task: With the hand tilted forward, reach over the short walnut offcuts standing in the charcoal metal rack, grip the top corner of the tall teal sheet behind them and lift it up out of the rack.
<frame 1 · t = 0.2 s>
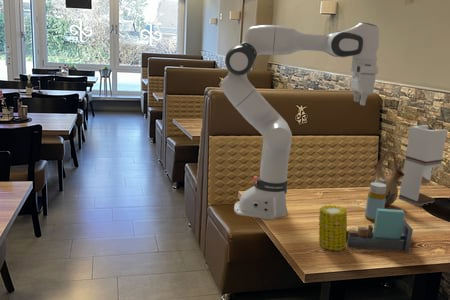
hand: (359, 103, 168), 48 cm above the table, tool pointing down, fingers open, 8 cm apart
food: (330, 246, 154), on the table
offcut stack: (359, 244, 156), resting in rack
ceramic vessel: (382, 204, 197), on the table
tea bag: (395, 236, 165), on the table
white model tower: (416, 200, 204), on the table
bottle: (373, 218, 180), on the table
rack: (375, 245, 155), on the table
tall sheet: (384, 246, 155), resting in rack
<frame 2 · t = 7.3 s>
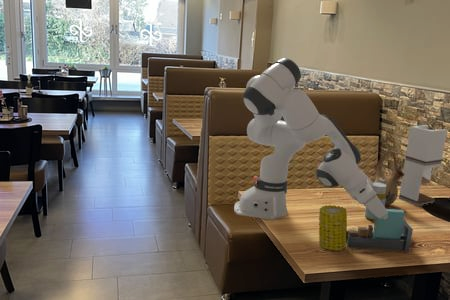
hand: (384, 215, 152), 12 cm above the table, tool tilted 45°, fingers closed on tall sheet, 2 cm apart
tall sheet: (385, 246, 155), resting in rack, touching gripper
everything else where it was.
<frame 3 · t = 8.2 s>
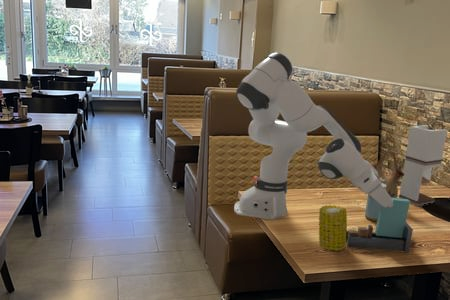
hand: (389, 203, 151), 16 cm above the table, tool tilted 50°, fingers closed on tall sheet, 2 cm apart
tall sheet: (388, 235, 155), point 4 cm above the table, touching gripper
everything else where it was.
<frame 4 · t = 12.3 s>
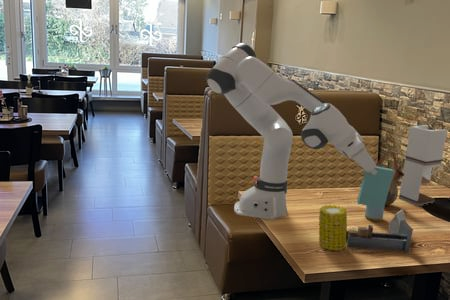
hand: (373, 171, 150), 27 cm above the table, tool tilted 45°, fingers closed on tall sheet, 2 cm apart
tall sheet: (370, 205, 153), point 15 cm above the table, tilted 7°, touching gripper
everything else where it was.
at the end: the gripper is holding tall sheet; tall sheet point 15.0 cm above the table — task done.
